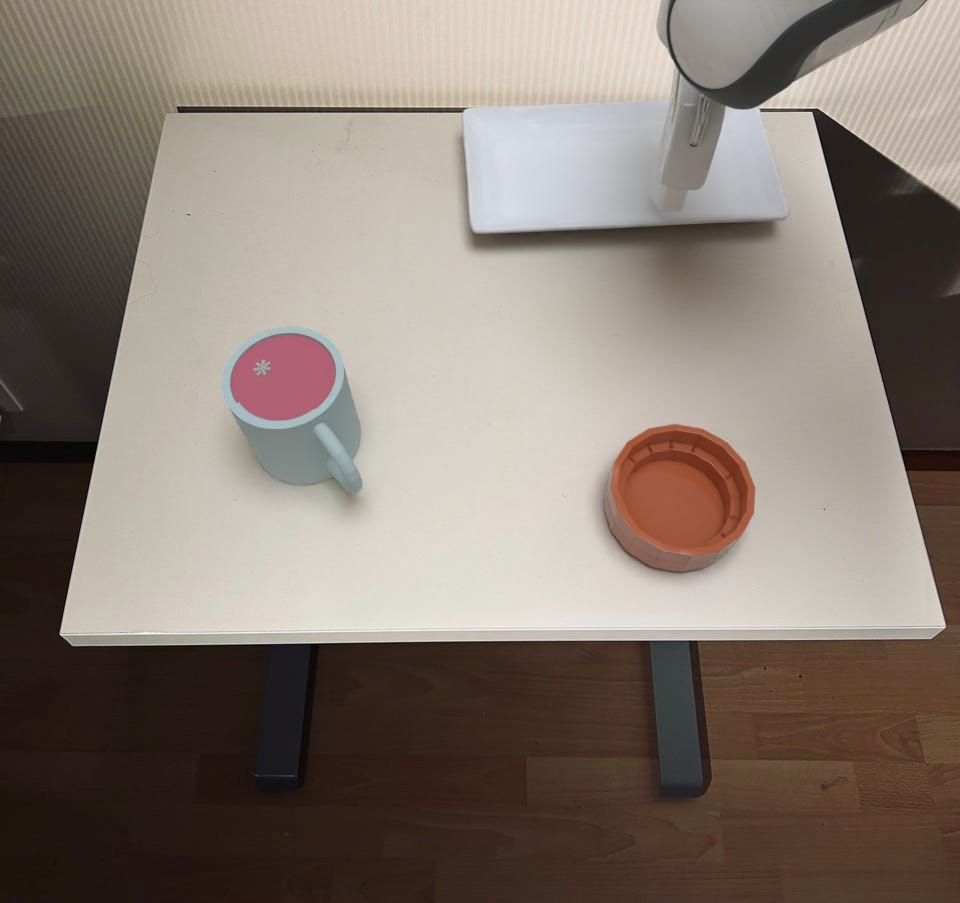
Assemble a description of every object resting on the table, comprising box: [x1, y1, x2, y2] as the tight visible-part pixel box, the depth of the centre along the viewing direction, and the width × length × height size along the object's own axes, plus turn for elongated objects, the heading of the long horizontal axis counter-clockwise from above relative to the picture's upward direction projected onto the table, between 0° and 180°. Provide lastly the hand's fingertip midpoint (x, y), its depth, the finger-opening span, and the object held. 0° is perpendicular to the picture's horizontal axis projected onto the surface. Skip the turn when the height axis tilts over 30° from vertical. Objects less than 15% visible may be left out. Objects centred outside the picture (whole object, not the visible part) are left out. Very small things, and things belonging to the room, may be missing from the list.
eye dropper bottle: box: [650, 117, 688, 211], centre depth 73 cm, size 4×6×12 cm
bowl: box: [603, 423, 756, 573], centre depth 65 cm, size 11×11×4 cm
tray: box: [461, 98, 790, 235], centre depth 82 cm, size 17×32×4 cm, turn 93°
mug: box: [221, 326, 363, 494], centre depth 64 cm, size 14×9×10 cm
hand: (676, 152), depth 74 cm, fingers closed on eye dropper bottle, 6 cm apart
